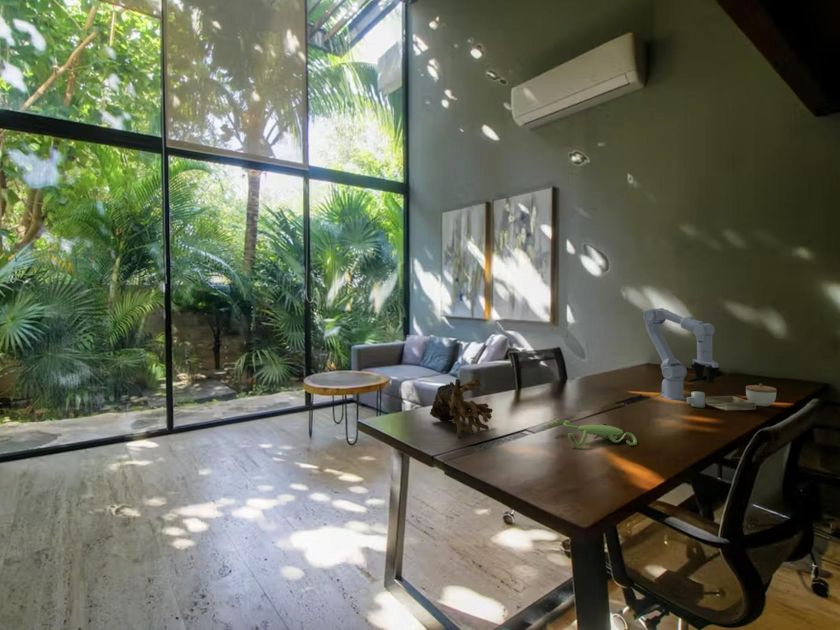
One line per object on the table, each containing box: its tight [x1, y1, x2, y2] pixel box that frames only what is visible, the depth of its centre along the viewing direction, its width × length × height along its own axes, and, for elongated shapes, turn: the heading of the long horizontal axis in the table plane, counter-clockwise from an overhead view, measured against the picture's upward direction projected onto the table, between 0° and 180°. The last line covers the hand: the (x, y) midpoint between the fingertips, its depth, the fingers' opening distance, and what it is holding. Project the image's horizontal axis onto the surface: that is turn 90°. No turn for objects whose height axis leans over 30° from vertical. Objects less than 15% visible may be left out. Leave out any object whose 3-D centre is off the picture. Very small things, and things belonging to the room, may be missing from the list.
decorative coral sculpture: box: [429, 378, 494, 438], centre depth 171 cm, size 26×23×30 cm
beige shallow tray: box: [705, 395, 757, 411], centre depth 194 cm, size 13×13×3 cm
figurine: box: [547, 419, 638, 450], centre depth 156 cm, size 18×27×6 cm
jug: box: [686, 390, 706, 409], centre depth 195 cm, size 5×7×6 cm
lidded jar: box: [745, 383, 777, 407], centre depth 195 cm, size 11×11×9 cm
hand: (705, 381), depth 197 cm, fingers open, 7 cm apart
